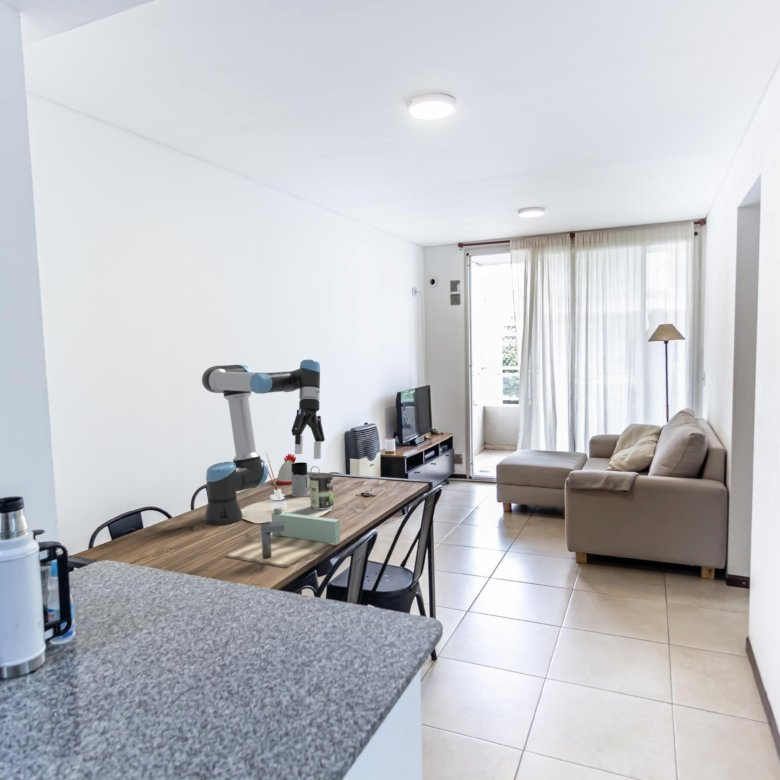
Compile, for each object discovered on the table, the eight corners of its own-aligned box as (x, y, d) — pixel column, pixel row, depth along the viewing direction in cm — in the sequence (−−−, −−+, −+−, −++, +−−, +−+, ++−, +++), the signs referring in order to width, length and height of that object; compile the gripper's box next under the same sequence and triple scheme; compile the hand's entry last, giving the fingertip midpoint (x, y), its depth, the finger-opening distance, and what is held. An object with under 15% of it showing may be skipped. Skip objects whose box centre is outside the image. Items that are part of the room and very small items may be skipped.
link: (269, 535, 215) (268, 514, 215) (277, 531, 220) (277, 510, 219) (334, 544, 202) (333, 522, 202) (341, 540, 207) (340, 518, 206)
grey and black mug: (293, 492, 284) (292, 462, 283) (322, 491, 284) (320, 461, 283) (289, 496, 276) (288, 465, 275) (318, 496, 275) (317, 465, 274)
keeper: (262, 562, 190) (260, 527, 189) (263, 557, 195) (261, 522, 194) (285, 560, 191) (283, 525, 190) (285, 555, 196) (284, 520, 195)
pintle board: (226, 556, 197) (224, 525, 196) (277, 532, 222) (276, 505, 221) (287, 567, 185) (286, 535, 184) (334, 540, 210) (333, 511, 209)
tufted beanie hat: (291, 485, 299) (290, 457, 298) (272, 483, 306) (270, 455, 305) (309, 480, 310) (308, 452, 309) (290, 477, 318) (289, 450, 317)
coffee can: (336, 503, 260) (335, 473, 259) (329, 510, 250) (328, 478, 249) (314, 503, 263) (313, 472, 262) (307, 509, 252) (305, 477, 251)
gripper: (301, 391, 204) (299, 450, 199) (333, 406, 227) (333, 460, 221) (282, 393, 207) (280, 452, 201) (316, 408, 229) (316, 461, 224)
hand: (308, 456), depth 211 cm, fingers open, 13 cm apart
